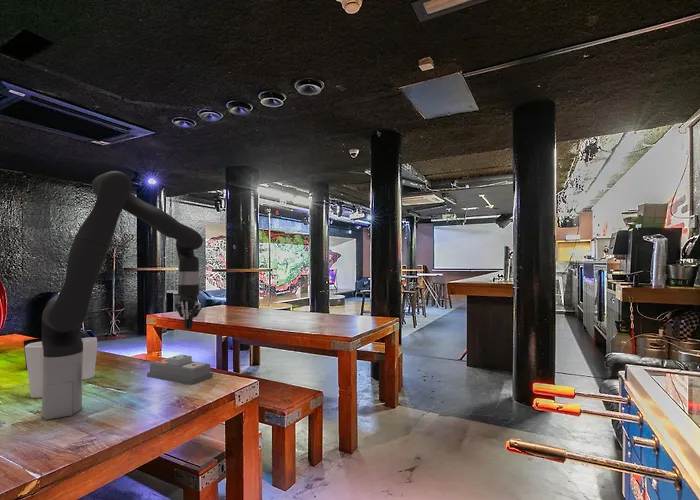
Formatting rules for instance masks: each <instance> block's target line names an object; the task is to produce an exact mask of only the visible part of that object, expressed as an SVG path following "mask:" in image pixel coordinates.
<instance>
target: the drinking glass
mask: <svg viewBox="0 0 700 500" xmlns="http://www.w3.org/2000/svg"><path fill="white" fill-rule="evenodd" d="M81 339H82V342H83V376H82V381H86V380H91V379H93V378H94V377H95V376H96V375H95V374H96V373H95V370H96V361H97V354H98V352H97V351H98V337H96V336H95V337H94V336H93V337H92V336H91V337H84V338H83V337H81Z"/></svg>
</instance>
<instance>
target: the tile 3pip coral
mask: <svg viewBox="0 0 700 500" xmlns="http://www.w3.org/2000/svg"><path fill="white" fill-rule="evenodd" d="M168 358H169V357H167V359H166V358H163V359H164V360H163V359H160V361H159V360H156V362H155V361H153V362H154V363H157V364H163V365H165V364H168Z"/></svg>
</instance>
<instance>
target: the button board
mask: <svg viewBox="0 0 700 500" xmlns="http://www.w3.org/2000/svg"><path fill="white" fill-rule="evenodd" d="M167 358H168V357H167ZM167 358H162V360H164V359H167ZM160 360H161V359H160ZM160 360H158V361H160ZM156 361H157V360H156ZM156 361H153V362H149V371H148V372H146V377H147V378H153V379H156V380H157V379H158V380H163V381H168V382H175V383H180V384H185V385H190V386H191V385H195V384H197V383H200V382H202V380H203V381H205V380H208V379H211V378H213V372H211V363H206V362H205V363H204V362H202V363H203V364H206V365H205V366H202V367H199V368H196V369H187V368H181V366H180V367H175V366H169V365H168V364H165V365H163V364H157V363H154V362H156ZM194 362H196V363H200V362H198V361H192V363H194ZM190 364H191V363H190ZM186 365H188V364H186ZM183 366H184V365H183ZM210 377H211V378H210ZM207 378H208V379H207Z"/></svg>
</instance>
